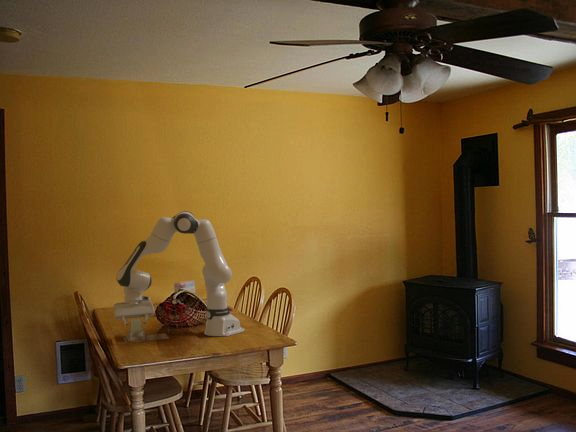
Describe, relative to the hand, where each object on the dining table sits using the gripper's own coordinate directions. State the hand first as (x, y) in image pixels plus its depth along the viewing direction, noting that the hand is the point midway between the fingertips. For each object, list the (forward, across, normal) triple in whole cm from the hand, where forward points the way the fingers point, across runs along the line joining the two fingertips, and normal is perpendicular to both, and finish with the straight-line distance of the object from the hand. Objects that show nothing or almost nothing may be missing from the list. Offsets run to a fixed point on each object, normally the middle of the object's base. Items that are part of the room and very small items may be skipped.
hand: (135, 323), depth 280 cm
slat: (+6, 0, +6) cm, 8 cm away
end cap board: (+7, +5, +7) cm, 11 cm away
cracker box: (-36, +38, +49) cm, 71 cm away
